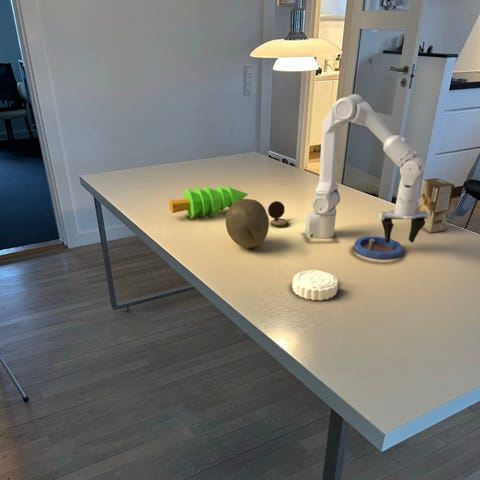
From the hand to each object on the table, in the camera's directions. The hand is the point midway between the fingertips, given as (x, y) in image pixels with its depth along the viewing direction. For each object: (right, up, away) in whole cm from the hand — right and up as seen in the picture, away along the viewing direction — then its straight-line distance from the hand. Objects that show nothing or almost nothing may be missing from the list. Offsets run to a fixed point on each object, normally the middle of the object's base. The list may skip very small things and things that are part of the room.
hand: (399, 241), depth 151 cm
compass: (-35, +10, +24) cm, 43 cm away
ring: (-6, -2, +1) cm, 7 cm away
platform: (-6, -3, +2) cm, 7 cm away
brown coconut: (-47, -1, +6) cm, 48 cm away
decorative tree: (-60, +15, +31) cm, 69 cm away
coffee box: (+18, +8, +22) cm, 29 cm away
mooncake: (-29, -16, -20) cm, 39 cm away
